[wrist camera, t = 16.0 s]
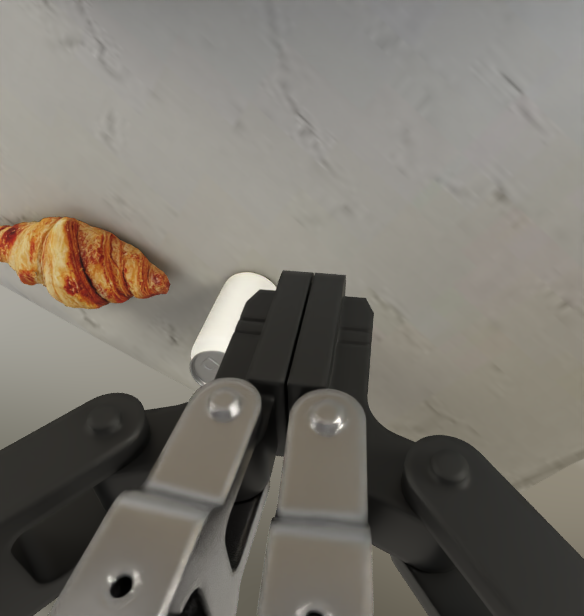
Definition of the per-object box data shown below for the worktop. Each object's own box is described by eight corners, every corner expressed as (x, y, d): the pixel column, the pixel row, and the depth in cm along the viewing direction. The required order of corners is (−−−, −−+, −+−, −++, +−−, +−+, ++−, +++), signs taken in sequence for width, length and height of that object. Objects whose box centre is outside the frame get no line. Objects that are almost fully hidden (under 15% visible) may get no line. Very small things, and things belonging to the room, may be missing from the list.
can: (258, 326, 55) (227, 408, 46) (212, 292, 53) (171, 370, 44) (294, 296, 51) (268, 378, 42) (246, 258, 49) (209, 336, 40)
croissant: (20, 235, 57) (-12, 293, 54) (-30, 183, 48) (-73, 250, 45) (188, 276, 56) (164, 339, 53) (170, 231, 47) (139, 304, 44)
